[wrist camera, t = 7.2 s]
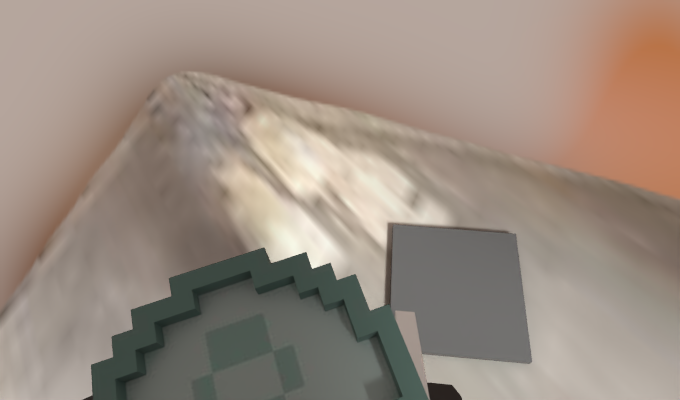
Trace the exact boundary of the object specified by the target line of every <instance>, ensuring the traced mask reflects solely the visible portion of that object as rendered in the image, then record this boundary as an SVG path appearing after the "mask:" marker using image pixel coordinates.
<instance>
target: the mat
mask: <svg viewBox="0 0 680 400" xmlns="http://www.w3.org/2000/svg"><path fill="white" fill-rule="evenodd" d="M390 308H391V310H392V312H393V315H394V317H395V311H408V312H415V317H416V323H417V329H418V335H419V340H420V346H421V352H422V354H429V355H440V356H450V357H461V358H472V359H483V360H494V361H505V362H516V363H527V364H529V363H531V362H532V357H531V350H530V342H529V334H528V326H527V318H526V310H525V302H524V295H523V287H522V279H521V271H520V263H519V255H518V248H517V240H516V234H511V233H498V232H485V231H472V230H459V229H446V228H433V227H419V226H406V225H393V230H392V261H391V293H390Z"/></svg>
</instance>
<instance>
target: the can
mask: <svg viewBox="0 0 680 400" xmlns="http://www.w3.org/2000/svg"><path fill="white" fill-rule="evenodd" d="M169 282H170V288H171V295H172V296H171V297H168V298H165V299H162V300H159V301H156V302H153V303H150V304H147V305H144V306H141V307H138V308H135V309H132V310H131V316H132V325H133V330H130V331H127V332H124V333H121V334H118V335H115V336H112V348H113V358H110V359H107V360H104V361H101V362H98V363H95V364H92V365H91V373H92V392H93V400H429V399H428V397H427V394H426V392H425V389H424V387H423V385H422V382H421V380H420V377H419V375H418V373H417V370H416V368H415V365H414V363H413V361H412V358H411V356H410V353H409V351H408V349H407V346H406V344H405V341H404V339H403V336H402V334H401V332H400V329H399V327H398V324H397V322H396V320H395V317H394V315H393V312H392V310H391V308H390V305H389V304H388V305H385V306H383V307H380V308H377V309H374V310H371V311H370V310H369V307H368V305H367V302H366V300H365V297H364V295H363V292H362V289H361V287H360V284H359V282H358V279H357V277H356V274H354V275H351V276H348V277H345V278H342V279H340V280H336V277H335V274H334V271H333V269H332V266H331V263H329V264H326V265H323V266H320V267H317V268H314V269H312V268H311V265H310V262H309V259H308V256H307V253H306V252H305V253H302V254H299V255H296V256H293V257H290V258H287V259H284V260H281V261H278V262H275V263H271V262H270V260H269V257H268V255H267V253H266V250H265V248H261V249H258V250H255V251H252V252H249V253H246V254H243V255H239V256H236V257H233V258H230V259H227V260H224V261H221V262H218V263H215V264H212V265H209V266H205V267H202V268H199V269H196V270H193V271H190V272H187V273H184V274H181V275H178V276H174V277H171V278H169Z"/></svg>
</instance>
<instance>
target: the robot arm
mask: <svg viewBox="0 0 680 400" xmlns="http://www.w3.org/2000/svg"><path fill="white" fill-rule="evenodd" d="M395 320H396V322H397V324H398V327H399V329H400V332H401V334H402V336H403V339H404V341H405V344H406V346H407V349H408V351H409V353H410V356H411V358H412V361H413V363H414V365H415V368H416V370H417V373H418V375H419V377H420V380H421V382H422V385H423V387H424V389H425V392H426V394H427V397H428V399H429V400H462V398H461V396H460V394H459V393H458V392H457V391H456V389H455V388H454V387H453V386H452V385H447V384H436V383H427V381H426V375H425V369H424V363H423V358H422V352H421V346H420V340H419V335H418V329H417V323H416V317H415V312H408V311H395ZM83 400H93V396H90V397H88V398H85V399H83Z"/></svg>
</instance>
